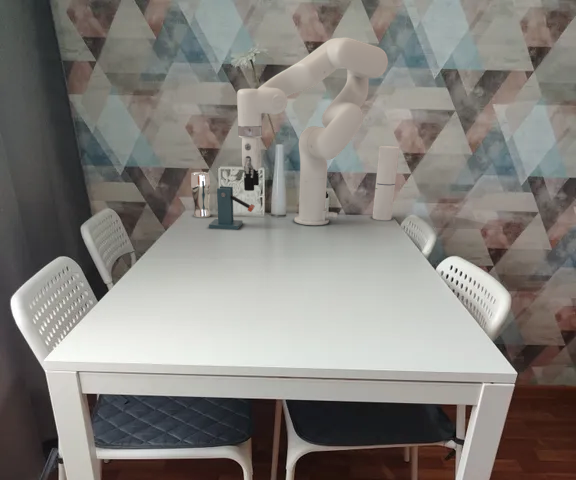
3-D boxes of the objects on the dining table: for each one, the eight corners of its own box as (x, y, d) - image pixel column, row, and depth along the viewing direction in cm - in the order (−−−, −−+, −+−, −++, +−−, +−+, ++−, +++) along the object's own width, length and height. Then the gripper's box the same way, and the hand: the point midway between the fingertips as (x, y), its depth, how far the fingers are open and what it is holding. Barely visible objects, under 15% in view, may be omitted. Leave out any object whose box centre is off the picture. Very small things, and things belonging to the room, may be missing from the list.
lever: (252, 210, 190) (255, 204, 189) (250, 213, 186) (253, 207, 185) (221, 193, 189) (224, 186, 188) (218, 195, 184) (221, 189, 183)
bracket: (242, 223, 195) (241, 186, 189) (237, 229, 187) (236, 190, 181) (214, 222, 196) (213, 184, 190) (209, 228, 188) (207, 189, 182)
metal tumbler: (210, 218, 202) (208, 175, 194) (191, 217, 202) (188, 174, 194) (212, 214, 208) (211, 172, 201) (194, 213, 208) (192, 171, 201)
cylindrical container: (382, 221, 204) (389, 148, 192) (368, 217, 209) (375, 146, 197) (395, 218, 208) (403, 147, 196) (381, 215, 213) (389, 145, 201)
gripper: (257, 134, 168) (258, 193, 177) (265, 129, 183) (266, 183, 192) (233, 134, 169) (235, 192, 178) (243, 129, 184) (245, 183, 193)
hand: (251, 187), depth 185 cm, fingers open, 9 cm apart
